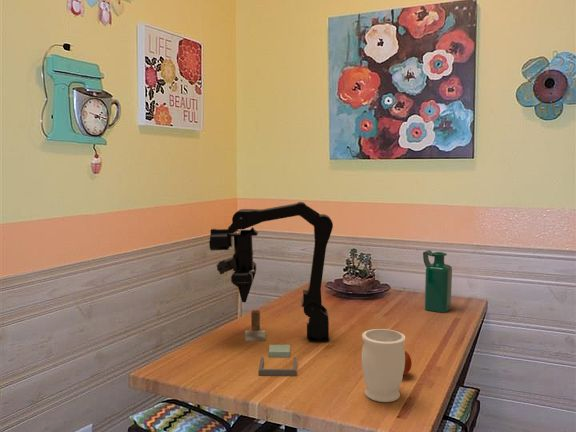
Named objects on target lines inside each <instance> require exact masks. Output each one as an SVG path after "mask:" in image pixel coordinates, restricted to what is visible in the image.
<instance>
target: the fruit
mask: <svg viewBox="0 0 576 432" xmlns="http://www.w3.org/2000/svg"><path fill="white" fill-rule="evenodd" d="M404 351H405V367H404V372H403V376H405V375H406V374H408V373H409V372H410V371H411V368H412V362H413V361H412V358H411V356H410V354H409V352H407V351H406V350H404Z"/></svg>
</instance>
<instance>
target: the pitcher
mask: <svg viewBox="0 0 576 432" xmlns="http://www.w3.org/2000/svg"><path fill="white" fill-rule="evenodd" d="M447 255H448V254H447V253H446V252H442V251H434V252H433V251H432V250H431V249H427V250H425V251H424V252H422V258H423V263H424V266H425V267H426V268H425V281H424V283H425V284H424V286H425V287H424V309H425V310H426V311H429V312H434V313H441V314H442V313H447V312H448V311H449V310H451V307H452V285H453V283H452V282H453V268H452V266H451V265H449V264H446V263H445V256H447ZM429 257H432V258H433V257H434V260H433V263H431V261H430V259H429Z"/></svg>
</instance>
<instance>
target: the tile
mask: <svg viewBox="0 0 576 432" xmlns="http://www.w3.org/2000/svg"><path fill="white" fill-rule="evenodd" d="M290 353H291V345H290V344H269V349H268V358H290V356H291V355H290Z"/></svg>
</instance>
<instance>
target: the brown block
mask: <svg viewBox="0 0 576 432" xmlns="http://www.w3.org/2000/svg"><path fill="white" fill-rule="evenodd" d="M250 317H251V330H245V331H244V341H245V342H266V338H267V334H266V333H267V332H266V330H261V310H255V309H253V310H251V313H250Z"/></svg>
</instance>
